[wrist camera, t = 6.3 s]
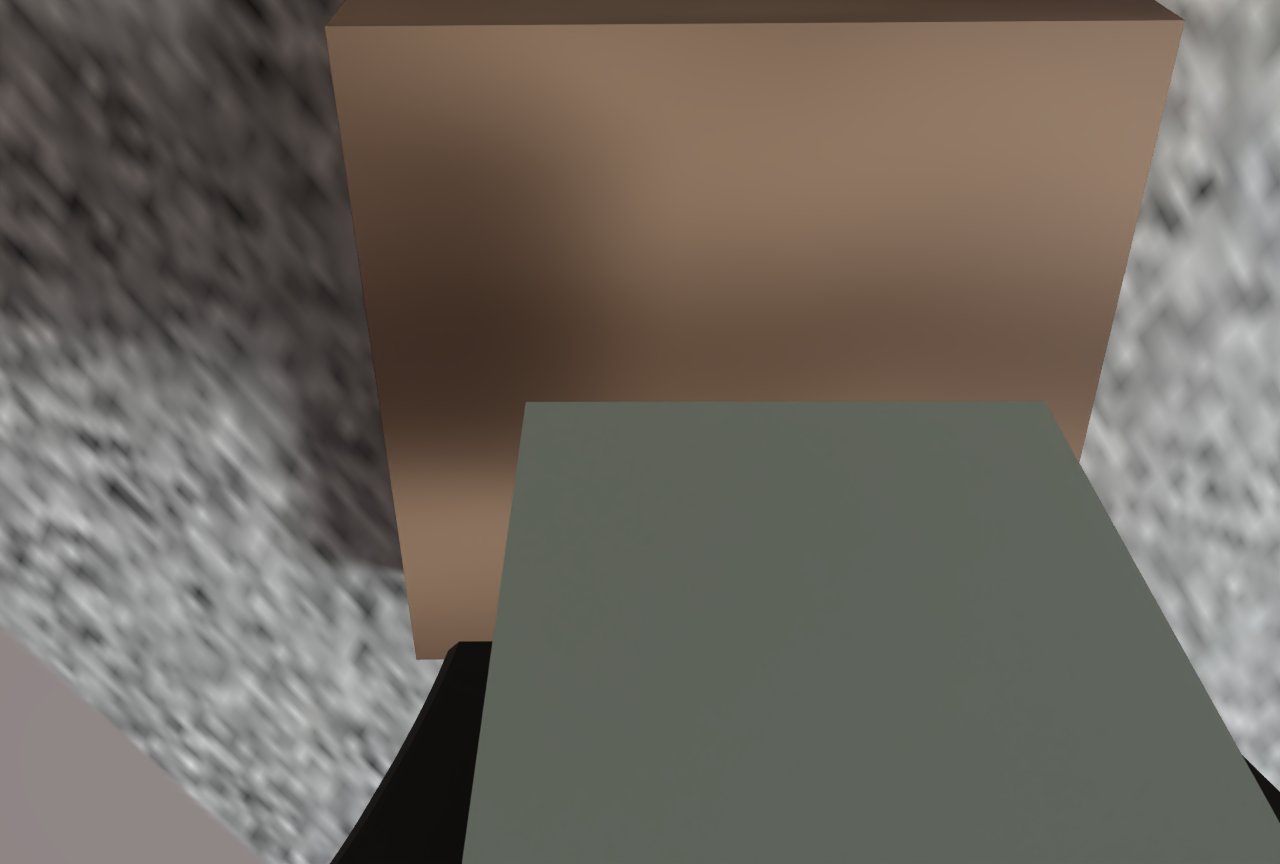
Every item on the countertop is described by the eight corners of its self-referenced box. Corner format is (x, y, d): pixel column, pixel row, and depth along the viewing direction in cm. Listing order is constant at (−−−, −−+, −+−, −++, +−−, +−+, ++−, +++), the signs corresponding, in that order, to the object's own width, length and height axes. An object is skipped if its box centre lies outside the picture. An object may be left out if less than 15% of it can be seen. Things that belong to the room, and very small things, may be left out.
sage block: (965, 759, 14) (1149, 1361, 9) (546, 760, 14) (500, 1366, 9) (1044, 400, 12) (1367, 980, 6) (525, 401, 11) (445, 987, 6)
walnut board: (993, 554, 21) (1033, 652, 19) (436, 561, 21) (416, 659, 19) (1111, -28, 16) (1185, 20, 14) (364, -24, 16) (324, 26, 14)
